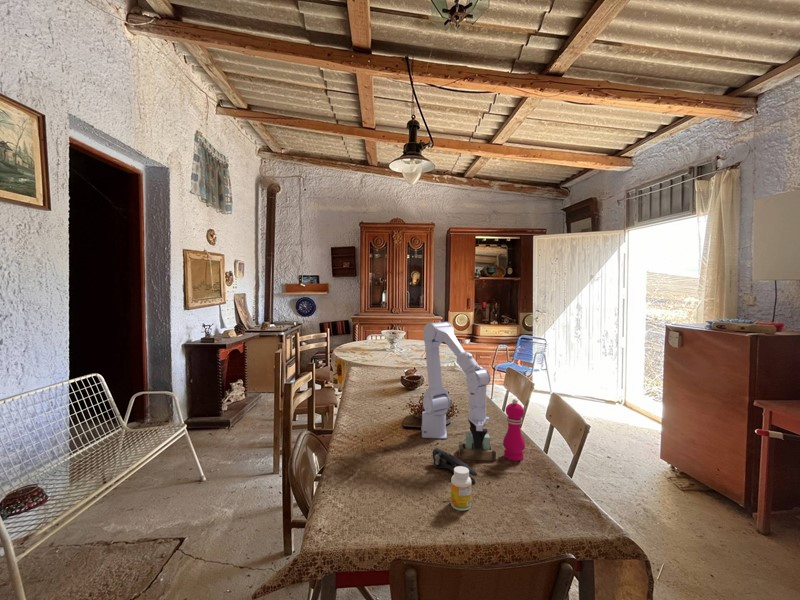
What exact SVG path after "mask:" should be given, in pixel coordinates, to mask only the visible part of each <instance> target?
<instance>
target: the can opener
mask: <svg viewBox="0 0 800 600" xmlns="http://www.w3.org/2000/svg"><path fill="white" fill-rule="evenodd" d="M432 461H433V465H434V467H436V468H437V469H438V468H439V469H448V470H450V471H451V472H452V473H454V468H455V467H458V466H463V467H466V468H468V469H469V477H470V478H471V483H472V484H471V485H473V484H476V480H475V478H474V477H476V476H478V473H477V471H476V470H475V469H473V468H472V467H471V466H469V465H468V464H467V463H465V462H464V461H462V459H460V458H458V457H456V456H454V455H452V454H451V452H447V451H445V450H443V449H440V448H439V447H436V448H434V449H433V450H432Z"/></svg>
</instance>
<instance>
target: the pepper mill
mask: <svg viewBox="0 0 800 600" xmlns="http://www.w3.org/2000/svg"><path fill="white" fill-rule="evenodd" d="M518 402H519V401H518V400H517V399H516V398H515V399H512V402H511V403H509V404H507V405H506V406H505V414H506V422H507V424H508V427H507V432H506V434H505V436H504V438H503V441H502V445H503V447H504V451H503V452H504V454H503V455H504V457H505V459H507V460H510V461H513V462H518V461H519V460H520V461H522V460H523V459H524V452H523V451H525V448H526V442H525V438H524V437H523V434H522V431H521V425H522V424H523V416H524V415H525V409H524V407H523V406H522V404H519V403H518ZM520 461H519V462H520Z"/></svg>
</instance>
